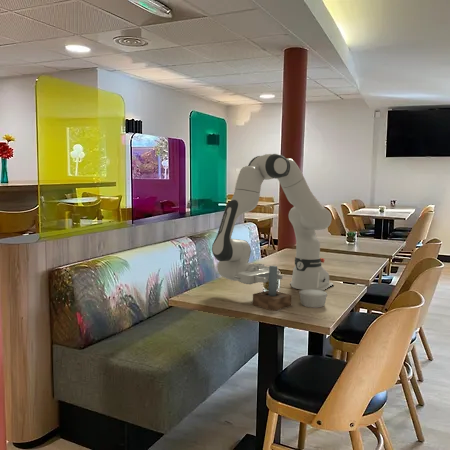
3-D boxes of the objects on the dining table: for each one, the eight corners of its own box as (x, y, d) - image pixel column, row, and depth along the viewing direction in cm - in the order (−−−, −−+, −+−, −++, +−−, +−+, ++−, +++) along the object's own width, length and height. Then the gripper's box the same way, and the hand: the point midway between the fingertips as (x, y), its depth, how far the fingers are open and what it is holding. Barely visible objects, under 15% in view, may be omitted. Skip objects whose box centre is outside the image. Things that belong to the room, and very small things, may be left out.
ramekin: (296, 301, 194) (296, 289, 194) (322, 301, 195) (322, 289, 195) (302, 308, 183) (302, 295, 183) (330, 308, 184) (330, 295, 183)
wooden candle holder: (270, 300, 194) (270, 289, 194) (291, 305, 186) (291, 295, 186) (252, 305, 186) (252, 294, 186) (273, 310, 179) (274, 299, 178)
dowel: (271, 304, 189) (272, 265, 187) (277, 305, 186) (278, 266, 185) (266, 305, 186) (267, 266, 185) (272, 307, 184) (273, 267, 183)
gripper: (231, 269, 187) (257, 274, 177) (264, 263, 201) (289, 268, 192) (231, 284, 188) (256, 290, 178) (263, 277, 202) (289, 283, 192)
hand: (274, 278), depth 185 cm, fingers open, 8 cm apart
